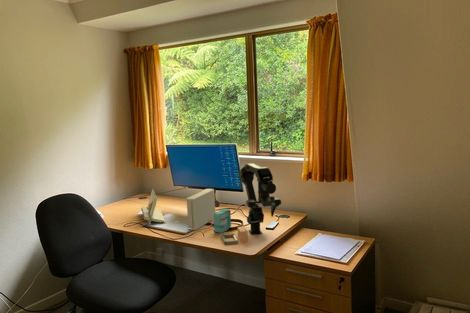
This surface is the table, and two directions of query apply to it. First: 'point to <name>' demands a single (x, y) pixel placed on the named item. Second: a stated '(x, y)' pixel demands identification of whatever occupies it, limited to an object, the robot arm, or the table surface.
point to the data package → (222, 220)
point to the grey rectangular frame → (229, 241)
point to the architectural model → (152, 210)
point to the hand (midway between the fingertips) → (264, 217)
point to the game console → (200, 208)
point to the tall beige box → (242, 234)
